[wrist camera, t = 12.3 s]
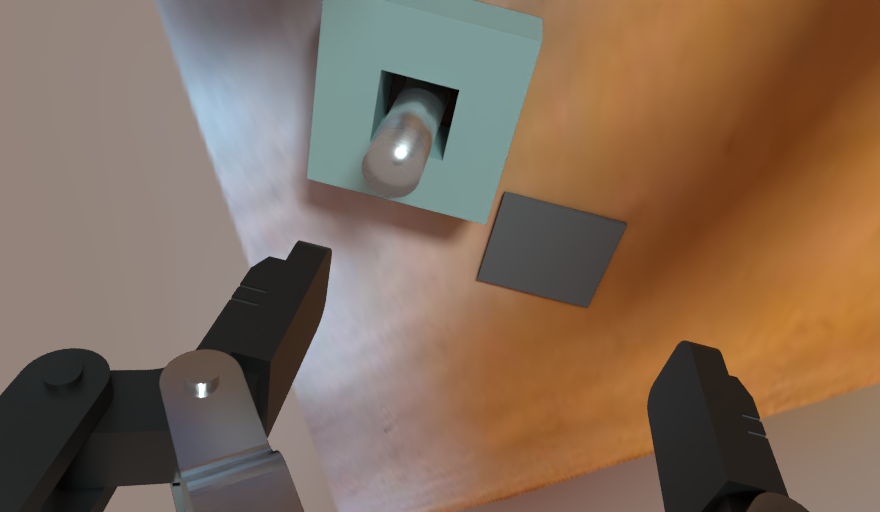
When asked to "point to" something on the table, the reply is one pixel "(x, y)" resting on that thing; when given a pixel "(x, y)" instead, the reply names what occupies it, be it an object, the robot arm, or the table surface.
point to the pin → (405, 139)
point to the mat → (549, 249)
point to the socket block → (433, 60)
